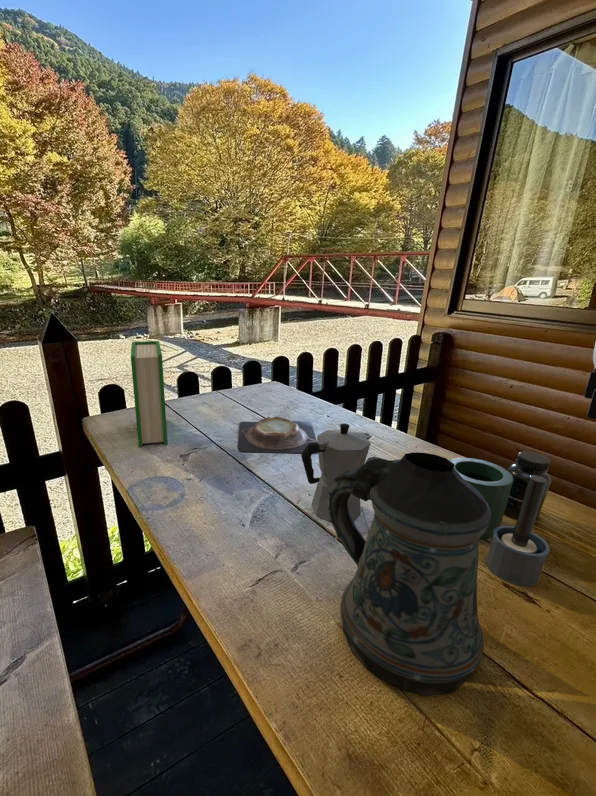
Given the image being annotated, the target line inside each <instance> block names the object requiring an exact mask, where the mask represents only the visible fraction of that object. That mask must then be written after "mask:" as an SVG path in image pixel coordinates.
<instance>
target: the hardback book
mask: <svg viewBox="0 0 596 796" xmlns="http://www.w3.org/2000/svg"><path fill="white" fill-rule="evenodd" d="M163 361H164V360H163V352H162V347H161V344H160V340H148V341H147V340H146V341H145V340H144V341H131V347H130V363H131V364H130V365H131V374H132V386H133V387H132V388H133V400H134V409H135V420H136V421H135V423H136V431H137V433H136V434H137V443H138V448H143V444H154V443H155V444H156V443H163V446H168V429H167V414H166V412H167V411H166V396H165V395H166V394H165V382H164V381H165V379H164V365H163Z"/></svg>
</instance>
